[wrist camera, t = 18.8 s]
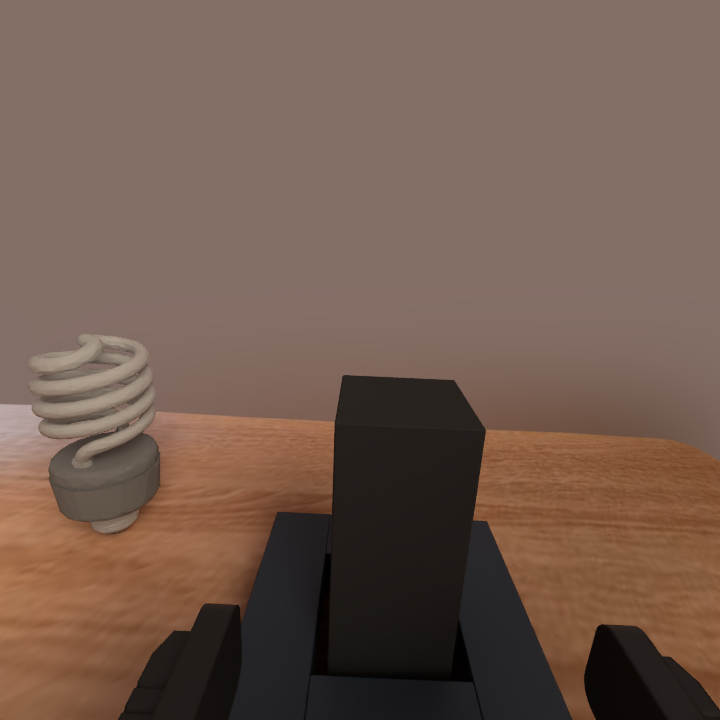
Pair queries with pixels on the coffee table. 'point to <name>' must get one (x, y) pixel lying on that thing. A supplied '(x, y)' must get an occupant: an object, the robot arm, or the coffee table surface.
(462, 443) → the post
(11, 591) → the coffee table surface
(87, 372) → the light bulb
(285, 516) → the base pad
